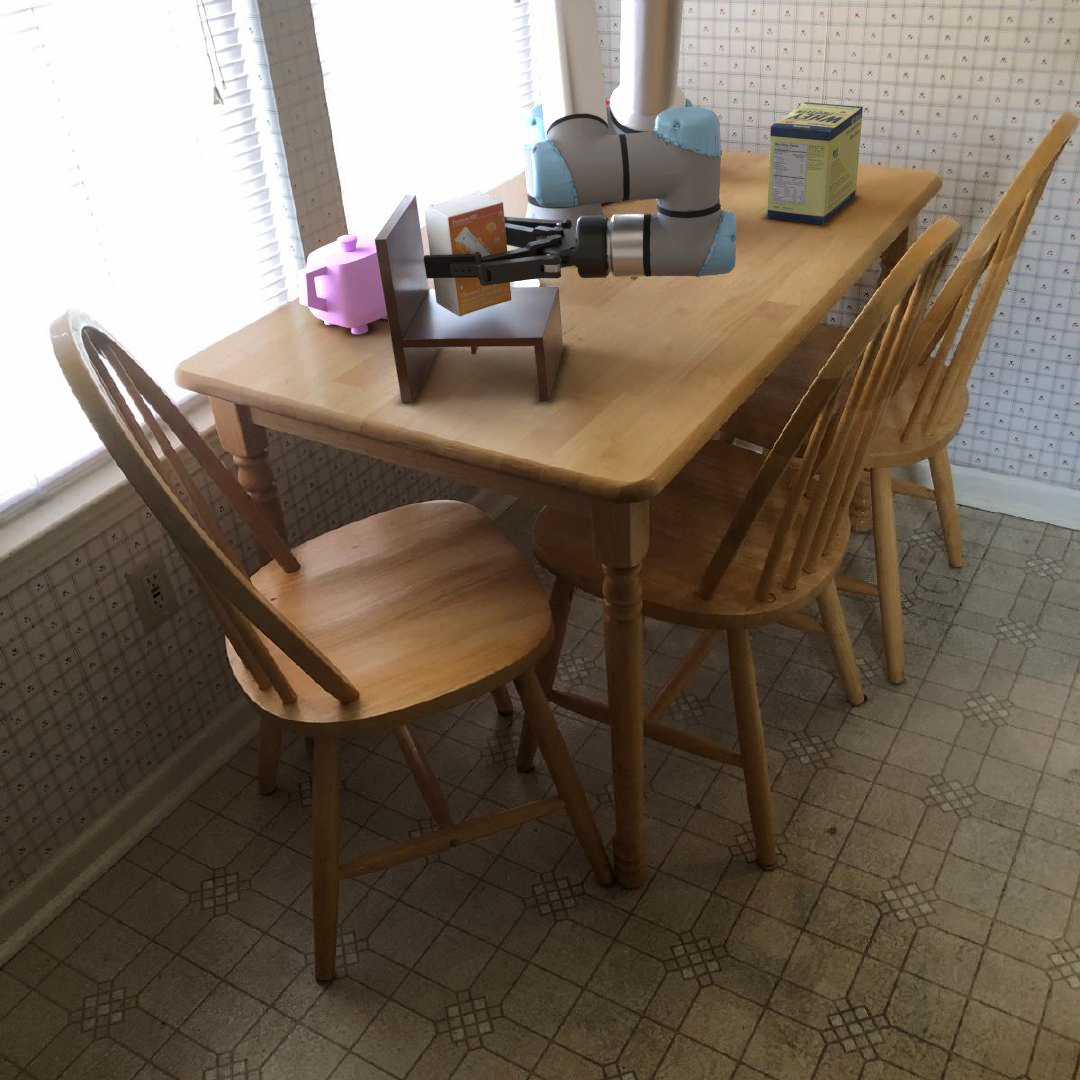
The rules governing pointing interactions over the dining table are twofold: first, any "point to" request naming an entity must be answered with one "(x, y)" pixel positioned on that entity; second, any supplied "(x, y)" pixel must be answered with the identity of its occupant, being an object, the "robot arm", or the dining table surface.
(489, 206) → the small box
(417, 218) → the wooden toy chair
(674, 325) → the dining table surface
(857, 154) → the protein box
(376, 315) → the teapot
